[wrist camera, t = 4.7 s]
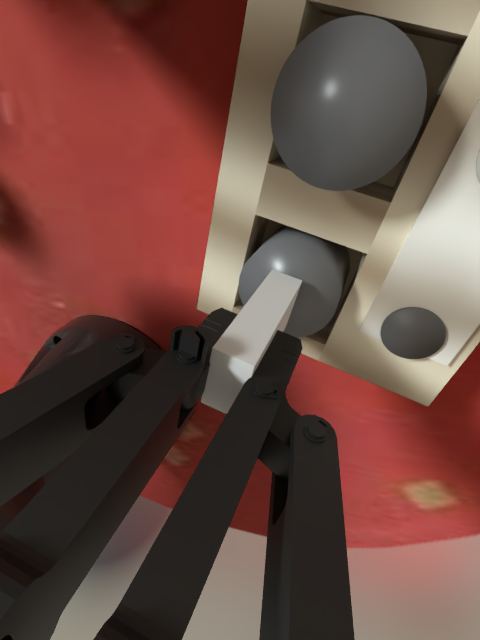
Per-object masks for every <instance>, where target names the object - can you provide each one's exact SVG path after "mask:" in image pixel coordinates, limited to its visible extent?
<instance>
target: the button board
mask: <svg viewBox="0 0 480 640" xmlns="http://www.w3.org/2000/svg"><path fill="white" fill-rule="evenodd" d="M357 15H364V16H372V17H376V18H379V19H382V20H385V21H387V22H389V23H391V24H393V25H395V26H396V27H397V28H399V29H400V30H401V31H402V32H404V34H405V35H406V36H407V37H408V38H409V39H410V40H411V41H412V43H413V45H414V46H415V48H416V49H417V51H418V53H419V55H420V58H421V60H422V63H423V66H424V70H425V74H426V82H427V100H426V108H425V113H424V117H423V121H422V124H421V126H420V129H419V132H418V134H417V136H416V138H415V140H414V142H413V144H412V145H411V147H410V148H409V150H408V151H407V153H406V154H405V155H404V157H403V158H402V159H401V160H400V161H399V163H398V164H397V165H395V166H394V167H393V168H392V169H391V170H390V171H389V172H388V173H386V174H385V175H384V176H382V177H381V178H379V179H377V180H376V181H374V182H372V183H370V184H368V185H365V186H363V187H359V188H356V189H352V190H345V191H332V190H325V189H321V188H317V187H315V186H312V185H310V184H308V183H306V182H304V181H303V180H301V179H300V178H299V177H297V176H296V175H295V174H294V173H293V172H292V171H291V170H290V169H289V168H288V167H287V165H286V164H285V163H284V161H283V160H282V158H281V156H280V154H279V152H278V150H277V147H276V145H275V142H274V138H273V134H272V128H271V116H270V114H271V102H272V96H273V91H274V87H275V84H276V81H277V78H278V76H279V73H280V71H281V69H282V67H283V65H284V63H285V62H286V60H287V59H288V57H289V56H290V54H291V53H292V51H293V50H294V49H295V48H296V47H297V45H298V44H299V43H300V42H301V41H302V40H303V39H304V38H305V37H307V36H308V35H309V34H310V33H311V32H313V31H314V30H316V29H317V28H318V27H320V26H322V25H324V24H326V23H328V22H330V21H333V20H336V19H338V18H342V17H347V16H357ZM283 225H287V226H290V227H292V228H295V229H298V230H301V231H304V232H307V233H309V234H312V235H315V236H318V237H321V238H323V239H326V240H329V241H332V242H335V243H338V244H340V245H343V246H346V248H347V250H348V254H349V260H350V268H349V273H348V276H347V279H346V282H345V285H344V288H343V291H342V294H341V297H340V300H339V303H338V305H337V308H336V311H335V314H334V316H333V317H332V319H331V320H330V322H329V323H328V324H327V325H326V326H325V327H324V328H322V329H321V330H319V331H318V332H316V333H314V334H311V335H308V336H303V337H297V338H299V339H301V343H302V348H303V349H302V351H301V353H302V354H304V355H306V356H309V357H311V358H314V359H316V360H318V361H321V362H323V363H325V364H328V365H330V366H333V367H335V368H337V369H340V370H342V371H344V372H347V373H349V374H351V375H354V376H356V377H359V378H361V379H363V380H366V381H368V382H370V383H373V384H375V385H378V386H380V387H382V388H385V389H387V390H389V391H392V392H394V393H397V394H399V395H401V396H404V397H406V398H408V399H411V400H413V401H416V402H418V403H420V404H423V405H425V406H427V407H428V406H429V405H430V404H431V402H432V401H433V400H434V399H435V397H436V396H437V395H438V394H439V392H440V391H441V390H442V389H443V387H444V386H445V385H446V384H447V382H448V381H449V380H450V379H451V377H452V376H453V375H454V374H455V372H456V371H457V370H458V369H459V367H460V366H461V365H462V364H463V362H464V361H465V360H466V358H467V357H468V356H469V355H470V353H471V352H472V351H473V350H474V348H475V347H476V346H477V345H478V343H479V342H480V0H248V2H247V8H246V14H245V20H244V26H243V32H242V38H241V44H240V50H239V56H238V63H237V69H236V75H235V81H234V87H233V93H232V99H231V105H230V111H229V117H228V123H227V129H226V135H225V141H224V147H223V153H222V159H221V166H220V172H219V178H218V184H217V190H216V196H215V202H214V208H213V214H212V220H211V226H210V232H209V238H208V244H207V250H206V256H205V262H204V268H203V275H202V281H201V287H200V293H199V299H198V305H197V310H200V311H202V312H205V313H207V314H210V313H211V312H212V311H215V310H217V309H219V308H224V309H226V310H229V311H231V312H234V313H236V314H239V312H240V311H241V310H242V308H243V307H244V306H243V303H242V301H241V298H240V294H239V277H240V274H241V270H242V268H243V266H244V265H245V263H246V262H247V260H248V259H249V258H250V257H251V256H252V255H253V254H254V253H255V252H256V251H257V250H258V249H259V248H260V247H261V246H262V245H263V244H264V243H265V242H266V241H267V239H268V238H269V237H270V236H271V235H272V234H273V233H274V232H275V231H276V230H278V229H279V228H280V227H282V226H283Z"/></svg>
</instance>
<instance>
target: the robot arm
mask: <svg viewBox="0 0 480 640" xmlns="http://www.w3.org/2000/svg"><path fill="white" fill-rule="evenodd" d="M301 283H302V280H300V279H297V278H294V277H292V276H289V275H286V274H284V273H281V272H279V271H276V270H273V269H272V270H271V272H270V273H269V274H268V276H267V277H266V278H265V279H264V281H263V282H262V283H261V285H260V286H259V287H258V289H257V290H256V291H255V293H254V294H253V295H252V297H251V298H250V299H249V300H248V302H247V303H246V304H245V306H244V307H243V308H242V310H241V311H240V312H239V314H236V313H234V312H231V311H229V310H226V309H224V308H219V309H217V310H215V311H212V312H211V313H210V314H209V315H208V317H207V318H206V320H204V321H203V322H202V323H201V325H200V326H199V327H198V328H196V327H193V326H181V327H177V328H176V329H174V330H172V334H171V342H170V349H169V350H168V351H162V350H161V349H160V348H159V347H158V346H157V345H156V344H155V343H154V342H152V341H151V340H150V339H149V338H147V337H146V336H145V335H143V334H142V333H140V332H139V331H137V330H136V329H134V328H132V327H130V326H129V325H127V324H125V323H122V322H120V321H117V320H115V319H112V318H108V317H103V316H97V315H88V316H82V317H78V318H76V319H74V320H72V321H70V322H69V323H67V324H66V325H65V326H63V327H62V328H60V329H59V330H57V331H56V332H54V333H53V334H52V335H51V336H50V337H49V338H48V340H47V341H46V342H45V344H44V345H43V347H42V348H41V349H40V351H39V352H38V353H37V355H36V356H35V358H34V359H33V360H32V362H31V363H30V365H29V366H28V367H27V369H26V370H25V372H24V373H23V374H22V376H21V377H20V379H19V380H18V381H17V383H16V384H15V385H14V387H13V388H12V389H10V390H8V391H6V392H4V393H2V394H0V640H50V638H51V636H52V634H53V633H54V630H55V628H56V625H57V623H58V620H59V618H60V616H61V614H62V612H63V610H64V609H65V607H66V605H67V604H68V602H69V601H70V599H71V598H72V596H73V595H74V593H75V592H76V590H77V589H78V587H79V586H80V584H81V583H82V581H83V580H84V578H85V577H86V575H87V574H88V572H89V571H90V569H91V568H92V566H93V565H94V563H95V562H96V560H97V559H98V557H99V555H100V554H101V552H102V551H103V549H104V548H105V546H106V545H107V543H108V542H109V540H110V539H111V537H112V536H113V534H114V533H115V531H116V530H117V528H118V527H119V525H120V524H121V522H122V521H123V519H124V518H125V516H126V515H127V513H128V512H129V510H130V508H131V507H132V505H133V504H134V503H135V501H136V500H137V498H138V497H139V495H140V494H141V492H142V491H143V489H144V488H145V486H146V484H147V483H148V481H149V480H150V478H151V477H152V475H153V474H154V472H155V471H156V469H157V468H158V466H159V465H160V463H161V462H162V460H163V459H164V457H165V456H166V454H167V453H168V451H169V450H170V448H171V447H172V445H173V444H174V443H175V442H176V441H177V439H178V438H179V436H180V435H181V433H182V432H183V430H184V429H185V427H186V426H187V424H188V422H189V419H190V418H191V416H192V415H193V413H194V411H195V408H196V403H197V401H198V400H199V398H200V397H201V395H202V399H201V403H203V404H206V405H208V406H210V407H212V408H214V409H216V410H218V411H220V412H223V413H225V414H227V415H226V417H225V418H224V420H223V422H222V424H221V425H220V427H219V429H218V431H217V432H216V434H215V436H214V438H213V440H212V441H211V443H210V445H209V447H208V448H207V450H206V452H205V454H204V455H203V457H202V459H201V461H200V462H199V464H198V466H197V468H196V470H195V471H194V473H193V475H192V477H191V478H190V480H189V482H188V484H187V485H186V487H185V489H184V491H183V493H182V494H181V496H180V498H179V500H178V501H177V503H176V505H175V507H174V508H173V510H172V512H171V514H170V515H169V517H168V519H167V521H166V523H165V524H164V526H163V528H162V530H161V531H160V533H159V535H158V537H157V538H156V540H155V542H154V544H153V545H152V547H151V549H150V551H149V553H148V554H147V556H146V558H145V560H144V561H143V563H142V565H141V567H140V568H139V570H138V572H137V574H136V576H135V577H134V579H133V581H132V583H131V584H130V586H129V588H128V590H127V592H126V593H125V595H124V597H123V599H122V600H121V602H120V604H119V605H118V607H117V609H116V610H115V612H114V613H113V615H112V616H111V617H110V618H109V619H108V620H107V621H106V622H105V623H104V625H103V626H102V628H101V629H100V631H99V632H98V633H97V635H96V637H95V638H94V640H182V638H183V635H184V633H185V631H186V628H187V626H188V623H189V621H190V618H191V616H192V614H193V611H194V609H195V607H196V604H197V602H198V599H199V597H200V595H201V592H202V590H203V587H204V585H205V583H206V580H207V578H208V575H209V573H210V570H211V568H212V566H213V563H214V561H215V558H216V556H217V554H218V551H219V549H220V547H221V544H222V542H223V539H224V537H225V534H226V532H227V530H228V527H229V525H230V522H231V520H232V518H233V515H234V513H235V510H236V508H237V506H238V503H239V501H240V498H241V496H242V494H243V491H244V489H245V486H246V484H247V482H248V479H249V477H250V474H251V472H252V470H253V467H254V465H255V462H256V460H257V458H258V459H260V460H261V461H262V462H263V463H264V464H265V465H266V466H267V467H268V468H269V469H270V470H271V471H273V473H272V483H271V496H270V509H269V522H268V535H267V548H266V561H265V562H266V563H265V574H264V587H263V600H262V613H261V626H260V640H354V629H353V618H352V606H351V596H350V584H349V572H348V561H347V549H346V537H345V526H344V515H343V503H342V492H341V480H340V469H339V457H338V446H337V437H336V434H335V430H334V429H333V428H332V426H331V425H330V424H329V423H328V422H327V421H325V420H324V419H323V418H320V417H318V416H316V415H304V416H301V415H299V414H298V413H297V412H296V411H295V410H294V409H292V408H291V406H290V405H289V403H288V402H287V399H286V396H285V391H286V388H287V385H288V383H289V380H290V378H291V375H292V373H293V371H294V368H295V366H296V363H297V361H298V358H299V356H300V354H301V351H302V349H303V348H302V343H301V339H299V338H297V337H294V336H292V335H289V334H287V333H284V332H283V331H284V329H285V327H286V325H287V322H288V319H289V317H290V314H291V311H292V308H293V306H294V303H295V300H296V297H297V295H298V292H299V289H300V286H301Z"/></svg>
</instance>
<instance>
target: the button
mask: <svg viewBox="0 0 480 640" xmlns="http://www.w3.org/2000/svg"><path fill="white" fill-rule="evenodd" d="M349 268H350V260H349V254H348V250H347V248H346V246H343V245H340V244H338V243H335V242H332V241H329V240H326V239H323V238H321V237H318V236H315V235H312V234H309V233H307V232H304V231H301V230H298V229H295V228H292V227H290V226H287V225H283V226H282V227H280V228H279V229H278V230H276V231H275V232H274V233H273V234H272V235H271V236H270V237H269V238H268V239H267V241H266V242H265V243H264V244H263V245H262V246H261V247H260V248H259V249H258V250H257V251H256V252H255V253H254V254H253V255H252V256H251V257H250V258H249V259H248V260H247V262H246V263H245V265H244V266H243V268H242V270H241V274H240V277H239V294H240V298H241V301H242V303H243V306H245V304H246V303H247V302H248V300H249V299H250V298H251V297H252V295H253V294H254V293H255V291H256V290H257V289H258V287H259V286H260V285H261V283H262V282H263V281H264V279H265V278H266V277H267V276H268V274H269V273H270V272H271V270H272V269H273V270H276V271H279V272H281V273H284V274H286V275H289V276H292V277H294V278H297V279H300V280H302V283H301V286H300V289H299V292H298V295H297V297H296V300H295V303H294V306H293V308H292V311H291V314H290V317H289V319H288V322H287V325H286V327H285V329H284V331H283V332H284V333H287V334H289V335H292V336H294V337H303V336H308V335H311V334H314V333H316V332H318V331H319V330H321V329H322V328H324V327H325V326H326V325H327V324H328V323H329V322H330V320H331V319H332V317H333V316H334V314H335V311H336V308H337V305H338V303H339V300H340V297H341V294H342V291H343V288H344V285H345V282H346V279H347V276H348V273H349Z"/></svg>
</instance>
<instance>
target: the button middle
mask: <svg viewBox="0 0 480 640" xmlns="http://www.w3.org/2000/svg"><path fill="white" fill-rule="evenodd" d="M426 100H427V82H426V74H425V70H424V66H423V63H422V60H421V58H420V55H419V53H418V51H417V49H416V48H415V46H414V45H413V43H412V41H411V40H410V39H409V38H408V37H407V36H406V35H405V34H404V32H402V31H401V30H400V29H399V28H397V27H396V26H395V25H393V24H391V23H389V22H387V21H385V20H382V19H379V18H376V17H372V16H364V15H357V16H347V17H342V18H338V19H336V20H333V21H330V22H328V23H326V24H324V25H322V26H320V27H318V28H317V29H316V30H314V31H313V32H311V33H310V34H309V35H308V36H307V37H305V38H304V39H303V40H302V41H301V42H300V43H299V44H298V45H297V47H296V48H295V49H294V50H293V51H292V53H291V54H290V56H289V57H288V59H287V60H286V62H285V63H284V65H283V67H282V69H281V71H280V73H279V76H278V78H277V81H276V84H275V87H274V91H273V96H272V102H271V114H270V116H271V128H272V134H273V138H274V142H275V145H276V147H277V150H278V152H279V154H280V156H281V158H282V160H283V161H284V163H285V164H286V165H287V167H288V168H289V169H290V170H291V171H292V172H293V173H294V174H295V175H296V176H297V177H299V178H300V179H301V180H303V181H304V182H306V183H308V184H310V185H312V186H315V187H317V188H321V189H325V190H332V191H345V190H352V189H356V188H359V187H363V186H365V185H368V184H370V183H372V182H374V181H376V180H377V179H379V178H381V177H382V176H384V175H385V174H386V173H388V172H389V171H390V170H391V169H392V168H393V167H394V166H395V165H397V164H398V163H399V161H400V160H401V159H402V158H403V157H404V155H405V154H406V153H407V151H408V150H409V148H410V147H411V145H412V144H413V142H414V140H415V138H416V136H417V134H418V132H419V129H420V126H421V124H422V121H423V117H424V113H425V108H426Z"/></svg>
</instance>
